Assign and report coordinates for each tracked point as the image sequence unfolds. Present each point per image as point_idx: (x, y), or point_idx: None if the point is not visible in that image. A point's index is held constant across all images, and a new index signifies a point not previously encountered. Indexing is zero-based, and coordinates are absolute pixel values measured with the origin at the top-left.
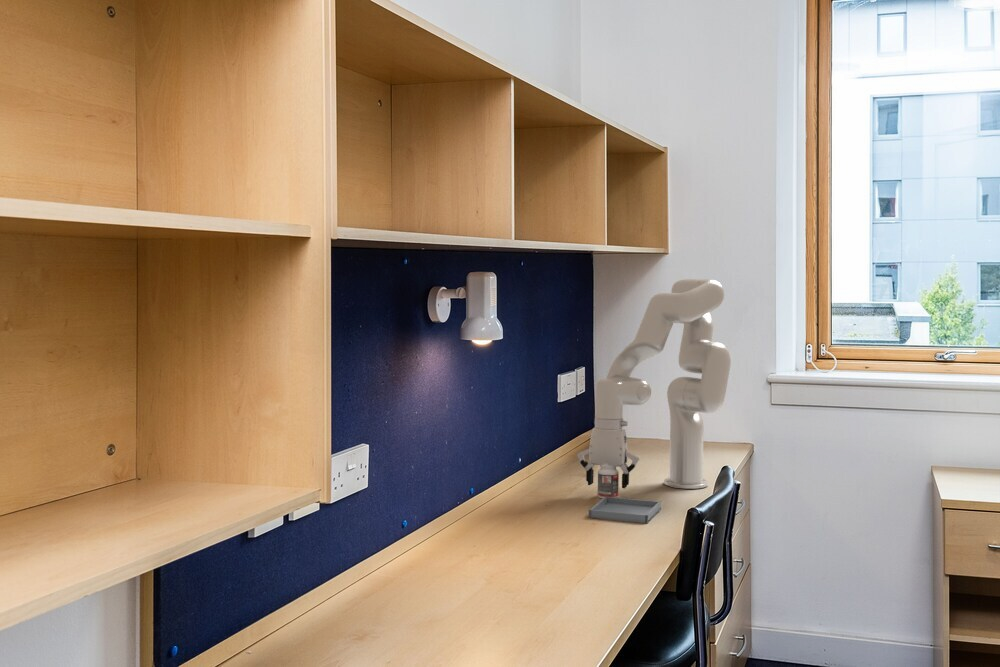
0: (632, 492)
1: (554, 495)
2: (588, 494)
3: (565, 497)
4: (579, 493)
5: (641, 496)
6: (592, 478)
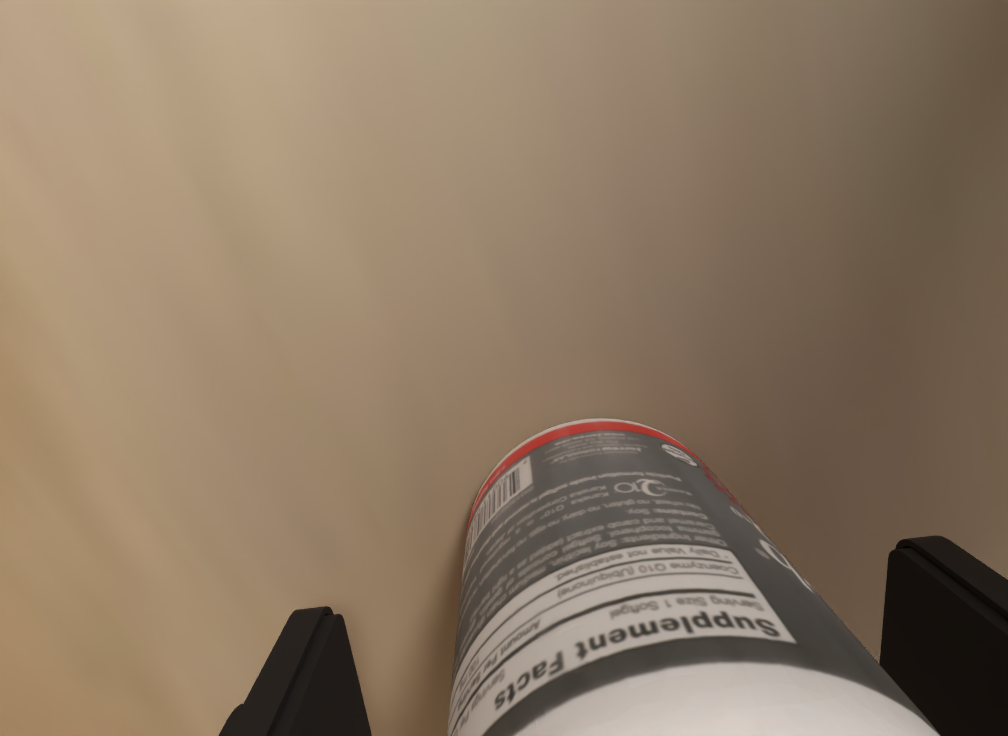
0: (820, 95)
1: (36, 711)
2: (324, 505)
3: (187, 731)
4: (203, 510)
5: (985, 284)
6: (323, 730)
